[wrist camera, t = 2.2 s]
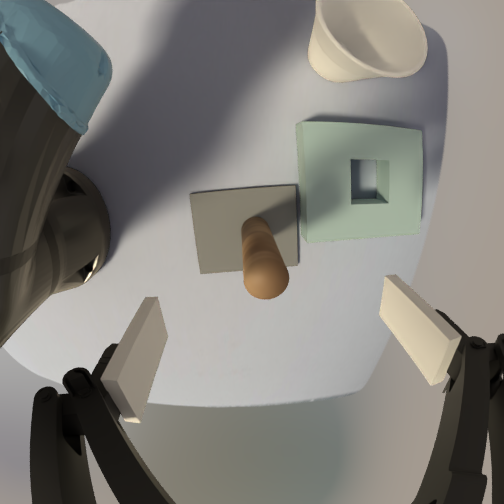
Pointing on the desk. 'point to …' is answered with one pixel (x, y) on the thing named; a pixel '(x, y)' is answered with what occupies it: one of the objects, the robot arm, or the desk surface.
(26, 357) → the desk surface
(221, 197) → the mat
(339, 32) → the cup
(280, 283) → the peg
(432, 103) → the desk surface
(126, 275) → the desk surface
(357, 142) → the socket block
